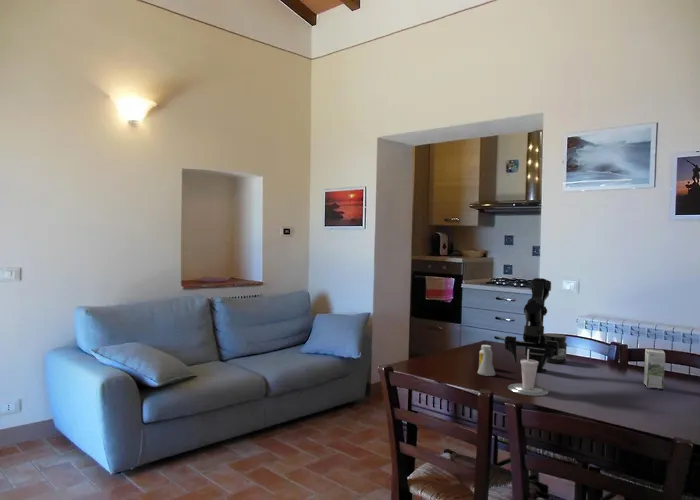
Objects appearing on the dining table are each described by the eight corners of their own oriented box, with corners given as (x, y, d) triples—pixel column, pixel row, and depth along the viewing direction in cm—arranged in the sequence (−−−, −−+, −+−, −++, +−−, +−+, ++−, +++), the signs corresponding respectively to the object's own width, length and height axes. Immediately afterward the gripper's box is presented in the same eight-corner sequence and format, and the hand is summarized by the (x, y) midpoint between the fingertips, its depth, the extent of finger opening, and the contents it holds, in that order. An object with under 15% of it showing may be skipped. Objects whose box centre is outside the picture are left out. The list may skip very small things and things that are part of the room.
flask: (496, 377, 204) (497, 352, 204) (477, 375, 205) (478, 350, 205) (494, 372, 211) (495, 348, 211) (476, 371, 212) (477, 347, 212)
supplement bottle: (491, 370, 214) (492, 347, 214) (477, 368, 216) (478, 346, 216) (492, 367, 219) (493, 345, 219) (479, 366, 221) (480, 343, 221)
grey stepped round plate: (521, 382, 197) (521, 379, 197) (555, 391, 187) (555, 389, 187) (500, 388, 188) (500, 385, 188) (535, 398, 178) (535, 395, 178)
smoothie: (518, 383, 191) (519, 346, 191) (536, 385, 190) (538, 348, 190) (519, 388, 185) (521, 350, 185) (538, 390, 184) (540, 352, 183)
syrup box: (659, 386, 200) (661, 349, 199) (663, 390, 194) (665, 352, 194) (643, 384, 202) (645, 347, 201) (646, 388, 196) (648, 350, 196)
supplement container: (545, 357, 243) (546, 332, 243) (568, 361, 237) (569, 335, 237) (538, 361, 235) (539, 335, 234) (562, 365, 228) (564, 338, 228)
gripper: (506, 314, 194) (500, 348, 185) (559, 319, 187) (556, 355, 177) (508, 332, 202) (502, 366, 192) (559, 337, 194) (556, 373, 184)
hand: (528, 364), depth 186 cm, fingers open, 9 cm apart
